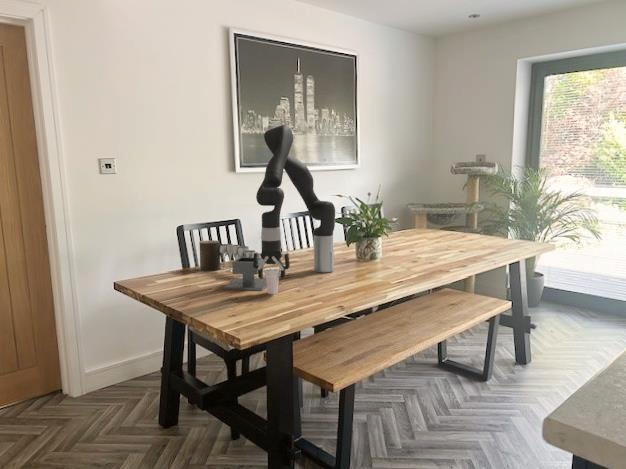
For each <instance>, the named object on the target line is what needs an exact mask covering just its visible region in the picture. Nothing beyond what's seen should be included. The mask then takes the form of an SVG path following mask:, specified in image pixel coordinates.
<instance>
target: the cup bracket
mask: <svg viewBox="0 0 626 469" xmlns="http://www.w3.org/2000/svg"><path fill="white" fill-rule="evenodd" d="M253 260H254V257H239V258H238V259H236V260H235V259H234V260H233V261H232V263H231V266H232V268H231V269H232V270H233V272H232V274H233V275H239V274H242V275H243V276H242V277H236V278H234V279H233V280H231V281H230V283H227V284H226V285H225V286H223V287H224V290H229V291H231V290H233V291H235V290H236V291H256V292H257V291H259V292H260V291H264V289H265V288H267V283H266V278H262V279H260V278H259V277H258V278H257V277H255V278H254V276H255V275H258V269H256V268H254V267H253ZM262 261H263V259H262V258H261V257H259V258H258V265H260V264H261V262H262ZM262 269H263V270H264V266H263V267H262Z"/></svg>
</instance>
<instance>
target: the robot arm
mask: <svg viewBox="0 0 626 469" xmlns="http://www.w3.org/2000/svg"><path fill="white" fill-rule="evenodd" d="M263 138H264V139H263V140H264V142H265V145H266V146H267V147H268V149H269V151H270V152H271V153H272V156H271V157H270V159H269V161H268V162H267V164H266V165H267V166H266V168H265V173H264V178H263V181H262V183H260V186H259V187H258V190H257V192H256V202H257V203H258V205H259V206H263V207H264V206H265V207H266V206H267V207H273V209H272V210H270V211H265V212H263V213H261V234H260V235H261V236H260V239H261V252H256V251H255V252H256V253H255V254H254V260H253V267H254V268H256V269H258V274H257V277H258V279H264V276H263V275H264V266H265V265H270V264H271V265H276V266H277V267H278V268H279V269H280V280H281V281H283V280H284V279H285V278H286V271H287V270H289V268H290V266H291V265H290V264H291V262H290V254H289V253H288V252H286V253H282V251H281V250H282V245H281V244H282V242H281V240H282V238H281V235H282V234H281V222H280V220H281V210H282V207H283V202H284V199H285V192H284V190H283V189H282V188H281V186H282V181H283V174H284V171H285V173H286V174H287V176H288V178H289V180H290V182H291V183H292V185H293V186H294V188H295V189H296V191H297V192H298V194H299V196H300V197H301V199H302V200H303V203H304V204H305V206H306V208H307V211H308V213H309V215H310V216H311V218H312V219H313V220H316V221H320V222H319V223H320V225H319V226H318V227H316V228H314V229H313V271H314V272H315V273H317V272H318V273H331V272H332V273H333V271H334V268H335V267H334V266H335V264H334V261H335V260H334V259H335V258H334V257H335V255H334V254H335V253H334V252H335V251H334V230H335V227H336V224H335V223H336V207H335V205H334V204H333V202H331V201H328V200H327V201H326V200H320V199H319V197H317V195H316V193H315V190H314V177H313V175H312V174H311V172H310V170H309V168H308V167H307V165H306V164H304V163H303V162H302V161H301V160H298V158H295V157H293V156H292V155H290V151H291V148H292V146H293V142H294V134H293V131H292V129H291V127H289V126H288V125H286V124H282V125H279V126H275V127H273V128H271V129H268V130H266V131H265V132H264V134H263ZM258 258H262V259H263V261H262V262H261V264H260V265H258ZM281 259H283V260H284V262H285V263H283V262H282V260H281ZM284 264H285V265H284ZM262 267H263V269H262Z"/></svg>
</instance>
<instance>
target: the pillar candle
mask: <svg viewBox="0 0 626 469" xmlns="http://www.w3.org/2000/svg"><path fill="white" fill-rule="evenodd" d="M220 244H221V242H220V241H219V240H215V239H214V240H210V239H208V240H200V241H199V266H200V267H199V268H200V271H203V272H216V271H219V270H220V268H221V255H219V253H218V247H219V245H220ZM220 271H221V270H220Z"/></svg>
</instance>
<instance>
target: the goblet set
mask: <svg viewBox="0 0 626 469" xmlns="http://www.w3.org/2000/svg"><path fill="white" fill-rule="evenodd" d="M249 248H250V247H249V246H246V245H245V246H244V245H243V246H241V245H240V244H233V243H220V245H219V247H218V253H219V255H220V258H222V262H223V267H220V271H226V273H227V272H228V273H229V272H230V273H233V269H232V268H231V266H232V263H231V261H232V256H233V257H234V261H235V260H236V259H238V258H239V257H254V254H255V253H256V250H252V249H249ZM226 257H228V259H229V267H225V258H226ZM238 276H240V277H243V275H242V274H238ZM254 278H257V276H256V275H254Z"/></svg>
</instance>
